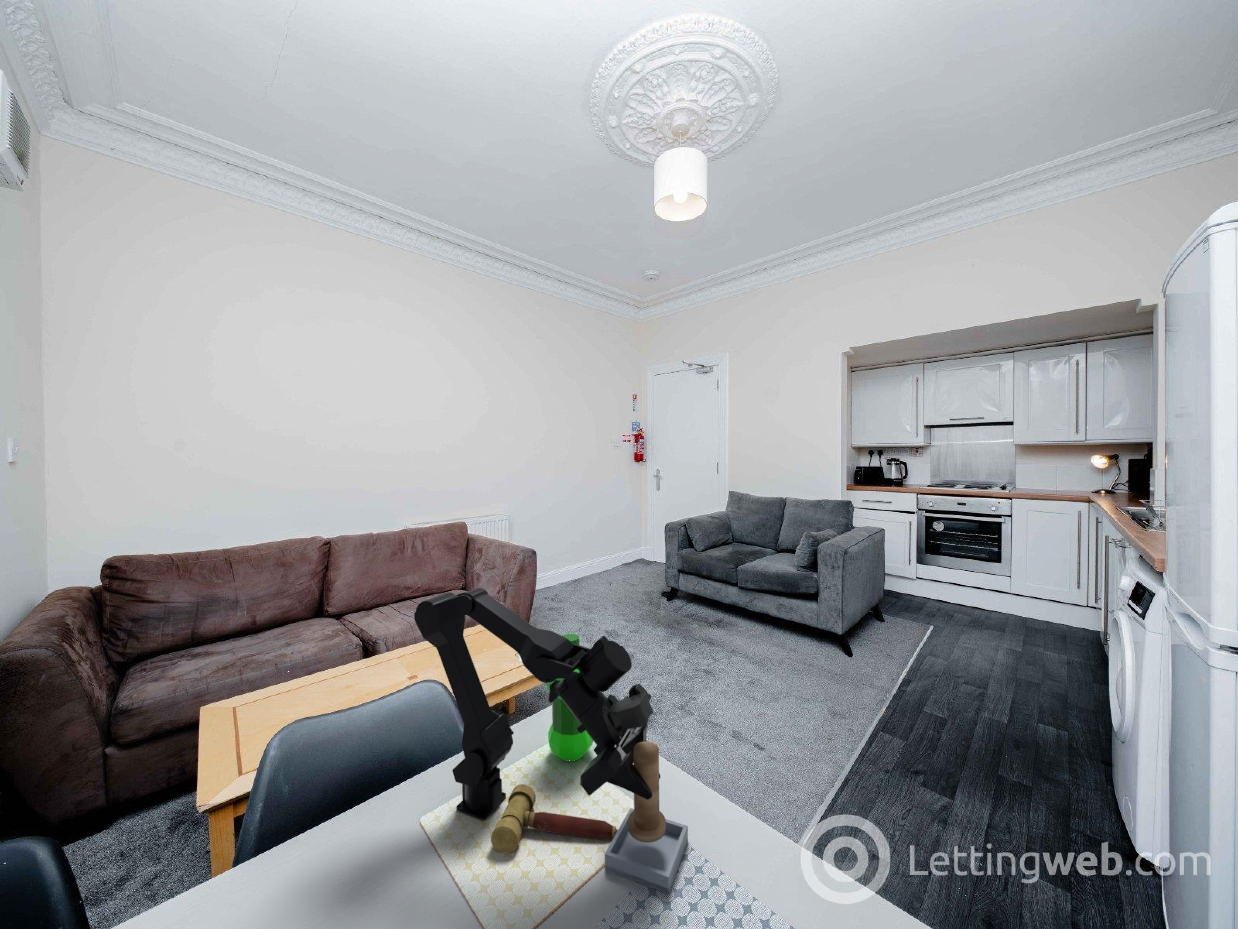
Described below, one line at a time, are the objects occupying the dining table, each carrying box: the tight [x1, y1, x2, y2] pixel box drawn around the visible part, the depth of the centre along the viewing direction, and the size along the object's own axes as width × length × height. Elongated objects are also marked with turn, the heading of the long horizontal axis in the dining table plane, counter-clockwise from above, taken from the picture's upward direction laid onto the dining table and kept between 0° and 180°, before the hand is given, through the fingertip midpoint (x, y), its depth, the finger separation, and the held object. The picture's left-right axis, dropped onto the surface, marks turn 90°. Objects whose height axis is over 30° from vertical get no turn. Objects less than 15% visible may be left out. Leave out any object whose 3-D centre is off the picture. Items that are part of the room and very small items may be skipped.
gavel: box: [490, 783, 618, 854], centre depth 79 cm, size 21×5×10 cm
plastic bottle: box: [546, 633, 594, 762], centre depth 100 cm, size 10×10×25 cm
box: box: [604, 807, 689, 895], centre depth 74 cm, size 10×10×2 cm
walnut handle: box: [628, 740, 666, 843], centre depth 74 cm, size 6×6×12 cm
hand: (654, 788), depth 73 cm, fingers closed on walnut handle, 4 cm apart
